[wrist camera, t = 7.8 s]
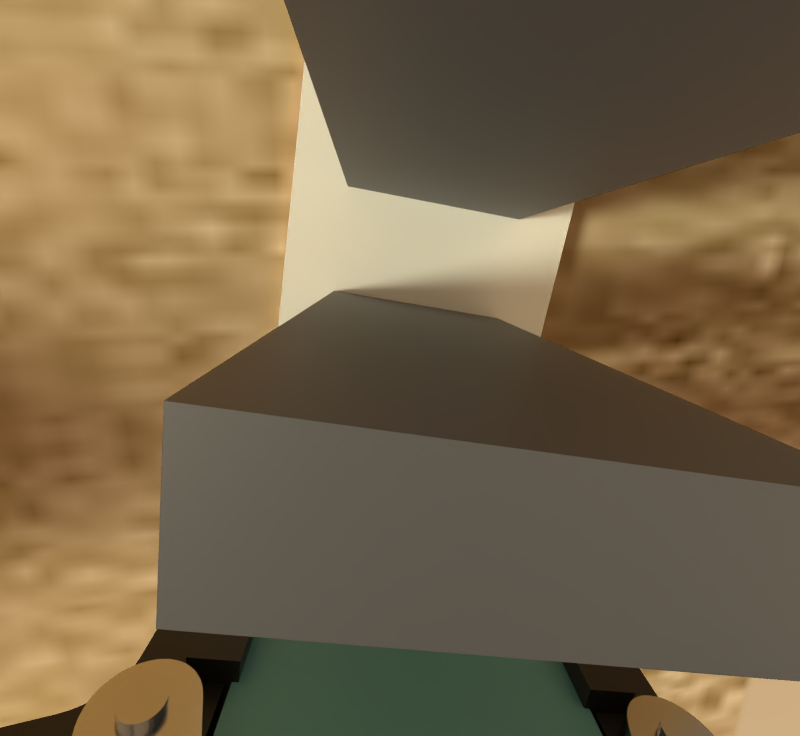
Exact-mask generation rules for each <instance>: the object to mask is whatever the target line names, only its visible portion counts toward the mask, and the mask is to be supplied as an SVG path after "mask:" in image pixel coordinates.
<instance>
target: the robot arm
mask: <svg viewBox="0 0 800 736" xmlns="http://www.w3.org/2000/svg"><path fill="white" fill-rule="evenodd" d="M252 639H253V637H249V636H236V635H224V634H212V633H199V632H187V631H175V630H162V629H157V631H156V632H155V634H154V636H153V637H152V639H151V641H150V642H149V644H148V646H147V647H146V649H145V651H144V652H143V654H142V656H141V657H140V659H139V660H138V662H137V663H136V665H134V666H132V667H130V668H128V669H126V670H124V671H122V672H120V673H119V674H117V675H116V676H114V677H113V678H111V679H110V680H109V681H108V682H106V683H105V684H104V685H103V686H102V687H100V689H99V690H98V691H97V692H96V693H95V694H94V695H93V696H92V697H91V698H90V700H89V701H88V702H87V703H86V704H84V705H82V706H79V707H77V708H74V709H72V710H69V711H66V712H63V713H59V714H56V715H52V716H47V717H43V718H39V719H35V720H31V721H27V722H22V723H18V724H14V725H10V726H6V727H2V728H0V736H213V735H214V732H215V729H216V726H217V723H218V721H219V718H220V715H221V712H222V709H223V706H224V703H225V700H226V697H227V694H228V691H229V689H230V686H231V683H232V682H239V679H240V676H241V673H242V670H243V667H244V664H245V661H246V658H247V655H248V652H249V649H250V646H251V643H252ZM562 663H563V665H564V667H565V669H566V671H567V673H568V675H569V678H570V680H571V682H572V684H573V686H574V688H575V690H576V692H577V694H578V697H579V699H580V701H581V703H582V705H583V707H584V708H586V709H590V711H591V713H592V715H593V717H594V719H595V721H596V723H597V725H598V727H599V729H600V731H601V733H602V735H603V736H714V735H713V734H712V733H711V732H710V731H709V730H708V729H707V728H706V727H705V726H704V725H703V724H702V723H701V722H700V721H699V720H697V719H696V718H695V717H694V716H692V715H691V714H690V713H688V712H687V711H685V710H684V709H683V708H681V707H679V706H677V705H676V704H674V703H672V702H670V701H668V700H665V699H663V698H659V697H658V696H657V695H656V693H655V692H654V690H653V689H652V687H651V686H650V684H649V683H648V681H647V680H646V678H645V676H644V675H643V673H642V672H641V670H640V669H639V668H630V667H617V666H605V665H593V664H581V663H568V662H562Z"/></svg>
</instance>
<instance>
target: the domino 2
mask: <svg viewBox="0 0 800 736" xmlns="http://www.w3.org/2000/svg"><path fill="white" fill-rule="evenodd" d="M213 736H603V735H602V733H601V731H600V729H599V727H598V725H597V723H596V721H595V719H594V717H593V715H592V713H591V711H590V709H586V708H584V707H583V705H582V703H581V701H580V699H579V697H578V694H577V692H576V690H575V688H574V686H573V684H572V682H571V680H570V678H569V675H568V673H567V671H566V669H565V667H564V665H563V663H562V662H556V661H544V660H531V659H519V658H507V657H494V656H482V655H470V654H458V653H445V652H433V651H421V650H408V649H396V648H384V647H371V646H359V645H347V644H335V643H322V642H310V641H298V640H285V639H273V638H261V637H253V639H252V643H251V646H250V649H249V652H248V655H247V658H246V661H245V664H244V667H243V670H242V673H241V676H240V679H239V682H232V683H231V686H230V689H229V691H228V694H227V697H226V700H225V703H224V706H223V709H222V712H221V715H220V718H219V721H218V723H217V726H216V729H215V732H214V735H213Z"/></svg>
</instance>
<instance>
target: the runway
mask: <svg viewBox="0 0 800 736" xmlns="http://www.w3.org/2000/svg"><path fill="white" fill-rule="evenodd" d="M574 204H575V202H574V203H571V204H568V205H564V206H561V207H558V208H555V209H552V210H548V211H545V212H542V213H539V214H536V215H532V216H529V217H526V218H523V219H514V218H509V217H504V216H499V215H493V214H488V213H483V212H478V211H473V210H468V209H463V208H457V207H452V206H447V205H442V204H437V203H432V202H426V201H421V200H416V199H411V198H406V197H401V196H395V195H390V194H385V193H380V192H375V191H370V190H365V189H359V188H354V187H349V186H348V185H347V183H346V180H345V177H344V174H343V171H342V168H341V165H340V162H339V159H338V156H337V153H336V150H335V148H334V145H333V142H332V139H331V136H330V133H329V130H328V127H327V124H326V121H325V118H324V115H323V113H322V110H321V107H320V104H319V101H318V98H317V95H316V92H315V89H314V86H313V83H312V80H311V78H310V75H309V72H308V69H307V66H306V63H305V64H304V74H303V84H302V94H301V104H300V114H299V124H298V134H297V144H296V154H295V164H294V174H293V184H292V194H291V204H290V214H289V223H288V233H287V243H286V253H285V263H284V273H283V283H282V293H281V303H280V313H279V323H278V327H279V326H280V325H282V324H284V323H285V322H287V321H288V320H290V319H291V318H293V317H294V316H296V315H297V314H299V313H301V312H302V311H304V310H305V309H307V308H308V307H310V306H311V305H313V304H314V303H316V302H318V301H319V300H321V299H322V298H324V297H325V296H327V295H328V294H330V293H331V292H333V291H339V292H345V293H351V294H357V295H363V296H369V297H375V298H381V299H386V300H392V301H398V302H404V303H410V304H416V305H422V306H428V307H434V308H440V309H446V310H452V311H458V312H464V313H470V314H476V315H482V316H488V317H494V318H498V319H500V320H503V321H505V322H507V323H509V324H512V325H514V326H516V327H519V328H521V329H523V330H526V331H528V332H530V333H532V334H535V335H537V336H539V337H541V333H542V329H543V325H544V321H545V317H546V313H547V309H548V306H549V302H550V298H551V294H552V290H553V286H554V282H555V278H556V274H557V270H558V266H559V263H560V259H561V255H562V251H563V247H564V243H565V239H566V235H567V231H568V227H569V223H570V219H571V216H572V212H573V208H574Z"/></svg>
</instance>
